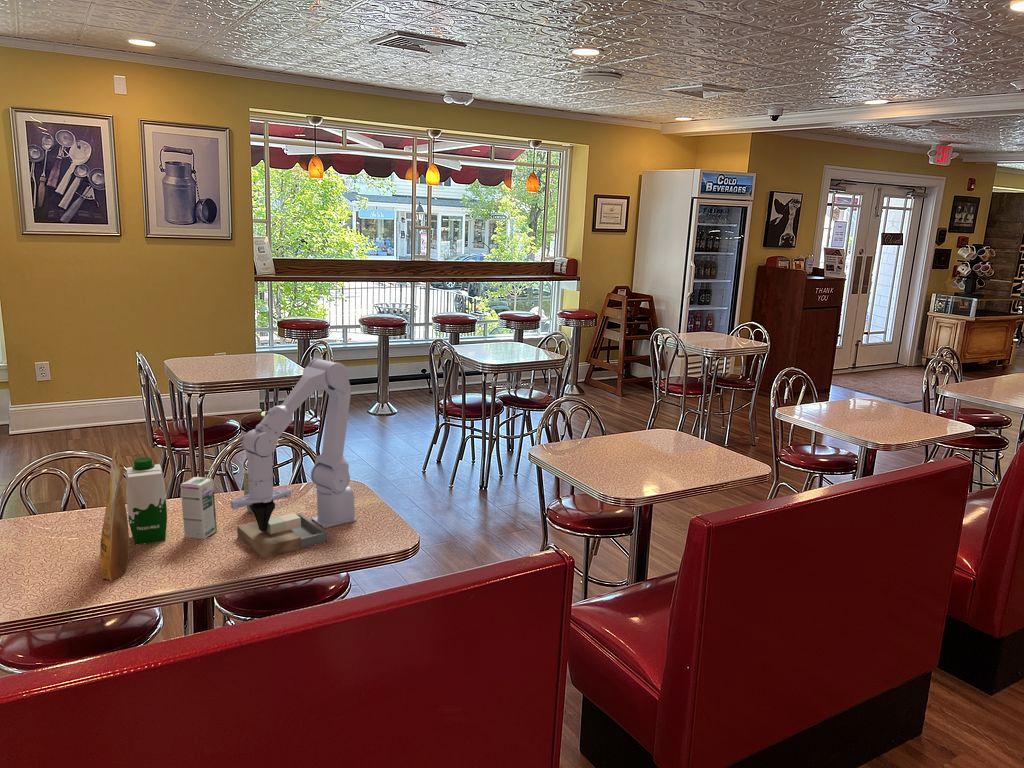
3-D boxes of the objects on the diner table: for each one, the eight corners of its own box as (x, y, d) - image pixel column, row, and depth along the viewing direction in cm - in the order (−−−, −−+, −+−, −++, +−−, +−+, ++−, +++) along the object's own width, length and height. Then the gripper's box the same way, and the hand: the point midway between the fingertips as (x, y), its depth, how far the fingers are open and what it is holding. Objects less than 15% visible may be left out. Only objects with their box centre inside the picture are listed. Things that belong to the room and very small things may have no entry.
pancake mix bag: (136, 548, 189) (128, 438, 183) (132, 582, 172) (122, 462, 166) (105, 552, 186) (95, 440, 180) (98, 587, 169) (87, 465, 163)
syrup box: (204, 539, 195) (201, 485, 191) (183, 537, 196) (179, 483, 193) (217, 531, 200) (214, 478, 197) (196, 528, 201) (193, 475, 198)
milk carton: (167, 528, 201) (161, 455, 196) (169, 541, 193) (164, 465, 189) (129, 534, 197) (123, 459, 192) (130, 547, 189) (124, 470, 185)
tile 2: (294, 521, 200) (294, 512, 199) (300, 526, 197) (300, 517, 196) (279, 525, 197) (279, 516, 197) (285, 530, 194) (285, 521, 194)
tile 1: (279, 525, 197) (279, 516, 197) (286, 530, 194) (285, 521, 194) (264, 529, 195) (263, 519, 194) (270, 534, 192) (270, 524, 191)
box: (300, 521, 207) (300, 513, 207) (327, 541, 195) (327, 532, 195) (275, 527, 203) (275, 518, 203) (301, 548, 191) (300, 539, 191)
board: (275, 527, 203) (275, 517, 202) (301, 548, 191) (300, 537, 190) (237, 536, 197) (237, 525, 196) (261, 558, 185) (261, 547, 184)
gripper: (237, 488, 182) (239, 542, 185) (295, 476, 191) (297, 528, 194) (226, 480, 187) (229, 532, 190) (283, 469, 196) (285, 519, 199)
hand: (262, 529), depth 192 cm, fingers closed
